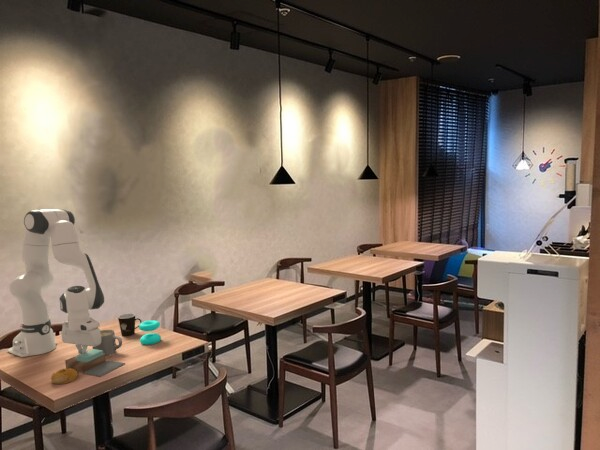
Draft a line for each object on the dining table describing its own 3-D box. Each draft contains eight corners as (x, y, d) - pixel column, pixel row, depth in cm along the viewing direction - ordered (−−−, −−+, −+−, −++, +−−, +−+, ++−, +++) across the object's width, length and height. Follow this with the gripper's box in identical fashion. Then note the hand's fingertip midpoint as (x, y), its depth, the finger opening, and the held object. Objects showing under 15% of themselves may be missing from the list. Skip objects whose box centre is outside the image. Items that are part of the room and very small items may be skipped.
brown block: (66, 369, 206) (65, 360, 206) (88, 359, 217) (87, 350, 217) (84, 372, 202) (83, 363, 202) (106, 362, 213) (105, 353, 213)
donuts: (154, 325, 230) (135, 325, 231) (156, 345, 231) (136, 345, 232) (162, 319, 240) (143, 319, 241) (164, 338, 241) (145, 338, 242)
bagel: (82, 373, 202) (81, 362, 201) (71, 385, 191) (70, 373, 190) (58, 375, 201) (57, 364, 201) (46, 387, 190) (44, 375, 190)
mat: (82, 373, 201) (82, 372, 201) (107, 361, 214) (107, 360, 214) (100, 376, 197) (100, 375, 197) (125, 363, 210) (125, 363, 210)
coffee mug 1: (88, 357, 220) (86, 336, 219) (102, 349, 229) (100, 329, 228) (114, 358, 217) (112, 337, 216) (126, 350, 226) (125, 330, 225)
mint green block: (76, 360, 205) (76, 356, 205) (93, 353, 213) (92, 348, 213) (87, 362, 203) (86, 357, 203) (103, 354, 211) (102, 350, 211)
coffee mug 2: (116, 335, 248) (114, 317, 247) (130, 330, 255) (128, 312, 254) (129, 339, 242) (127, 320, 241) (143, 334, 249) (142, 315, 247)
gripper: (56, 323, 210) (59, 353, 211) (90, 327, 201) (93, 359, 203) (68, 319, 215) (71, 348, 217) (102, 323, 207) (105, 353, 209)
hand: (82, 353), depth 210 cm, fingers closed
